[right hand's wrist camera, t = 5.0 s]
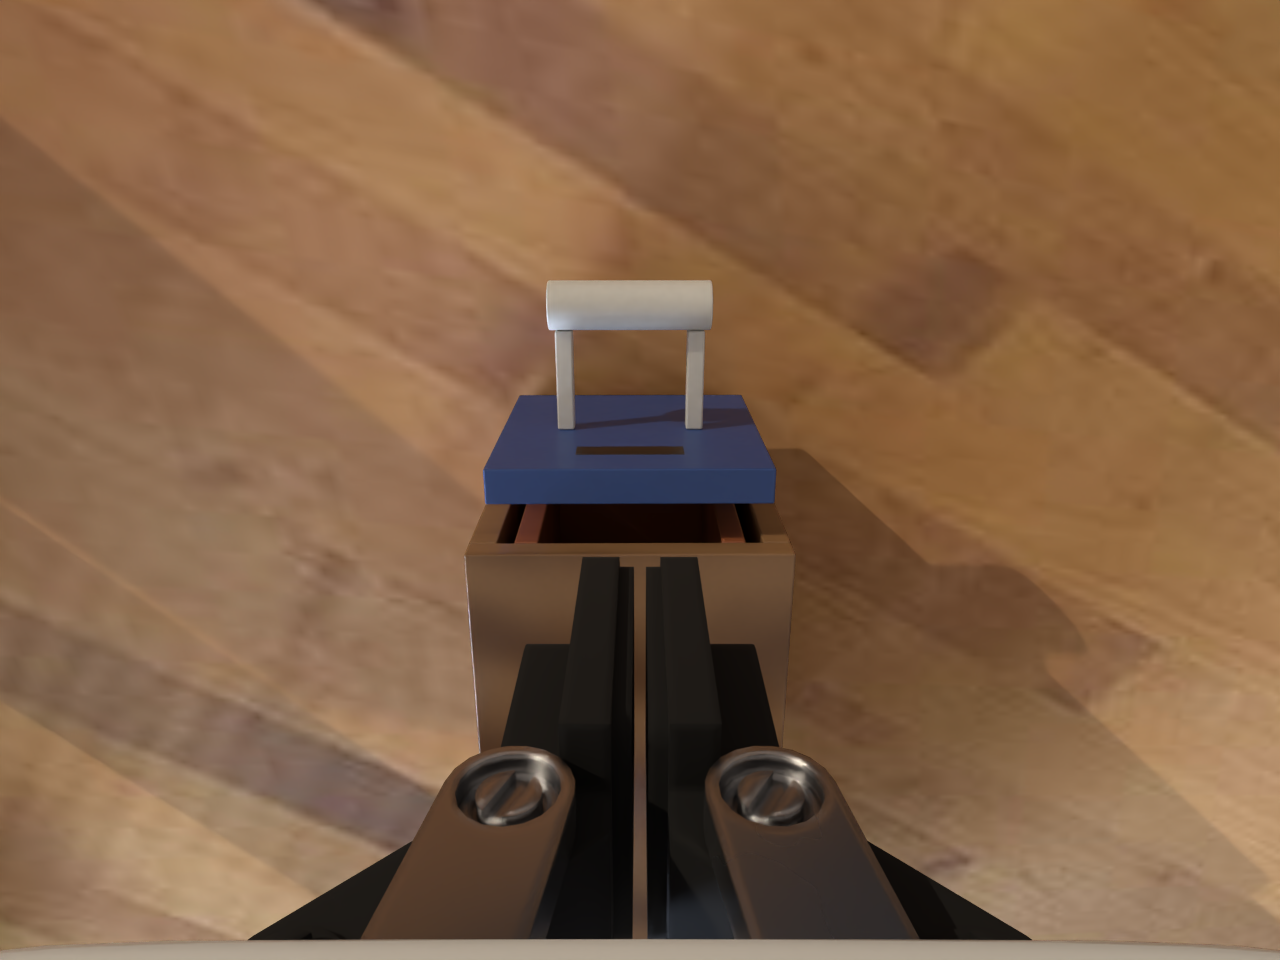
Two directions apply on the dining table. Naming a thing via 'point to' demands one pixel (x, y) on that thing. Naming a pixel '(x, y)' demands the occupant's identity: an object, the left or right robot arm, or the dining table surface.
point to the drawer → (629, 435)
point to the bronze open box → (545, 604)
